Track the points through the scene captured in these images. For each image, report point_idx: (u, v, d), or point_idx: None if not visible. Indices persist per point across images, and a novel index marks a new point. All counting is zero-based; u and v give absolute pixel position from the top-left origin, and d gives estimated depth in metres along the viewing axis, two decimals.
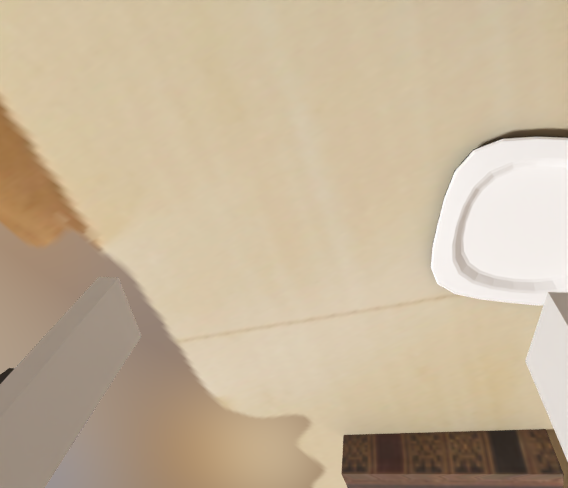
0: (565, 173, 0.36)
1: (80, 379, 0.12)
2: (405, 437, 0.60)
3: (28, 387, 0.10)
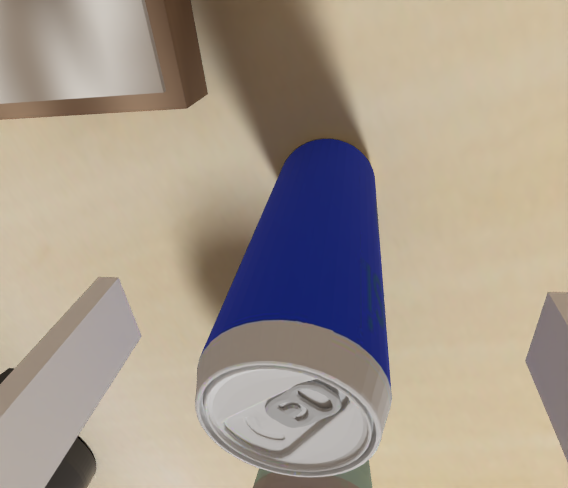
0: None
1: (80, 379, 0.12)
2: None
3: (28, 387, 0.10)
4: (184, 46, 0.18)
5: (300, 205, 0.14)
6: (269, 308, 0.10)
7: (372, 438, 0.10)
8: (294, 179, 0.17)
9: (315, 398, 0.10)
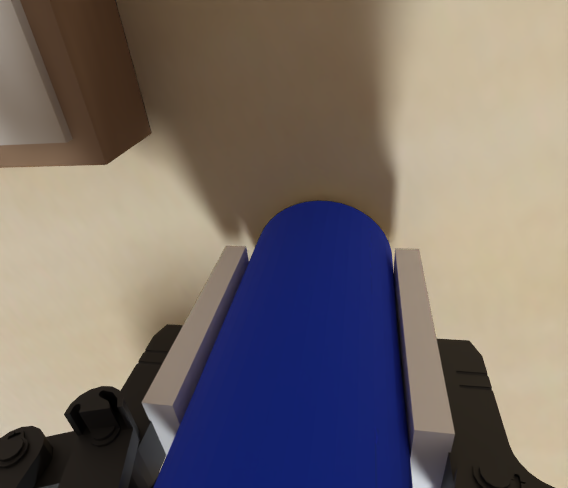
0: None
1: None
2: None
3: (206, 336, 0.11)
4: (100, 70, 0.12)
5: (265, 372, 0.08)
6: None
7: None
8: (266, 289, 0.10)
9: None
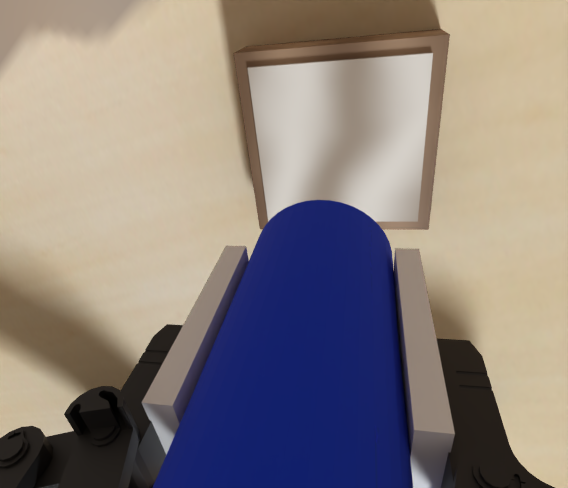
0: None
1: None
2: None
3: (206, 336, 0.11)
4: None
5: (265, 370, 0.08)
6: None
7: None
8: (265, 288, 0.10)
9: None
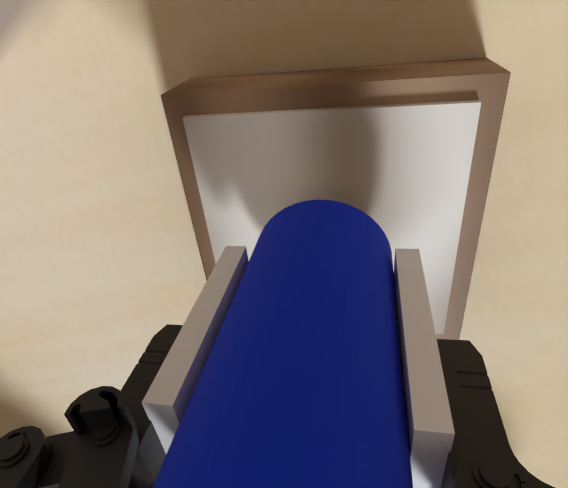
0: None
1: None
2: None
3: (206, 336, 0.11)
4: None
5: (265, 370, 0.08)
6: None
7: None
8: (265, 288, 0.10)
9: None
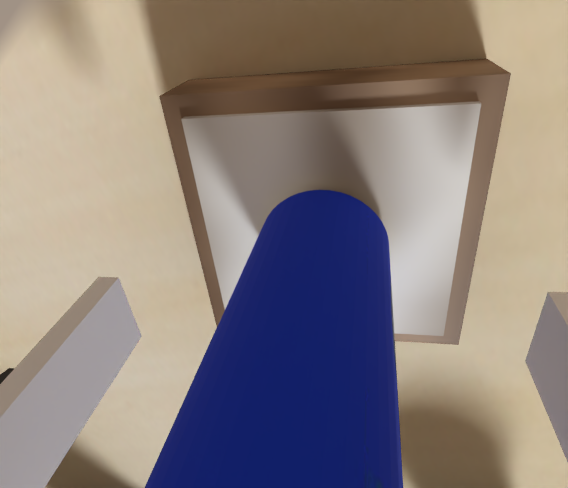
0: None
1: (80, 379, 0.12)
2: None
3: (28, 387, 0.10)
4: None
5: (267, 338, 0.09)
6: None
7: None
8: (268, 269, 0.11)
9: None
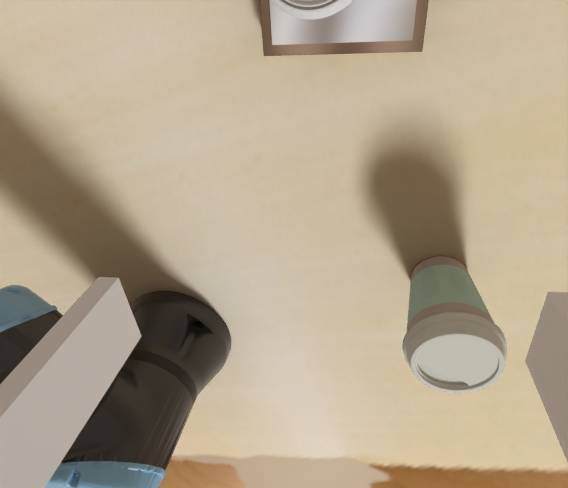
0: None
1: (80, 379, 0.12)
2: None
3: (28, 387, 0.10)
4: None
5: None
6: None
7: None
8: None
9: None
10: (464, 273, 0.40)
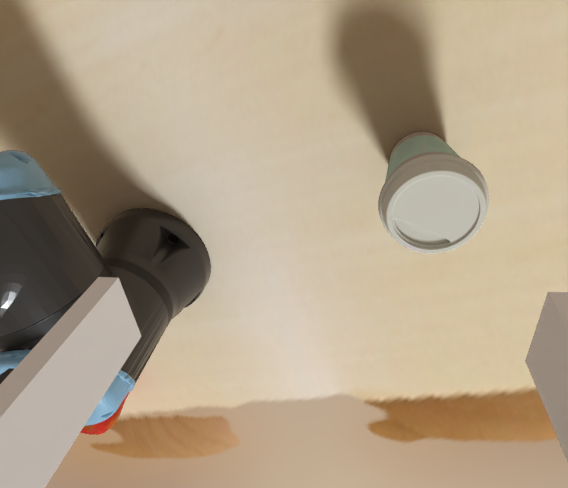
0: None
1: (80, 379, 0.12)
2: None
3: (28, 387, 0.10)
4: None
5: None
6: None
7: None
8: None
9: None
10: (442, 141, 0.37)
